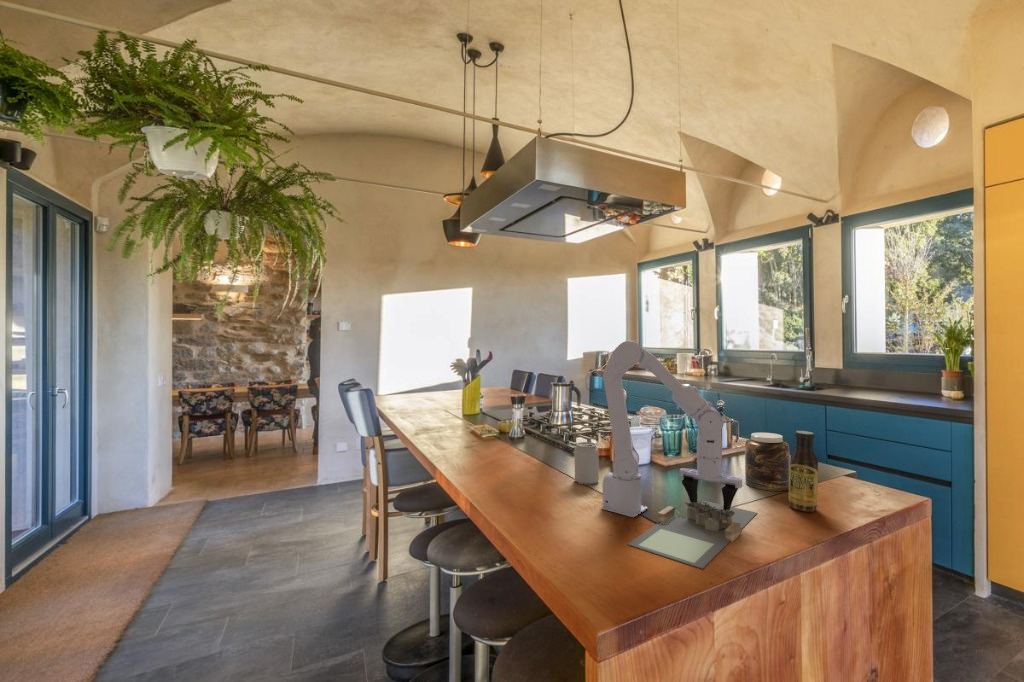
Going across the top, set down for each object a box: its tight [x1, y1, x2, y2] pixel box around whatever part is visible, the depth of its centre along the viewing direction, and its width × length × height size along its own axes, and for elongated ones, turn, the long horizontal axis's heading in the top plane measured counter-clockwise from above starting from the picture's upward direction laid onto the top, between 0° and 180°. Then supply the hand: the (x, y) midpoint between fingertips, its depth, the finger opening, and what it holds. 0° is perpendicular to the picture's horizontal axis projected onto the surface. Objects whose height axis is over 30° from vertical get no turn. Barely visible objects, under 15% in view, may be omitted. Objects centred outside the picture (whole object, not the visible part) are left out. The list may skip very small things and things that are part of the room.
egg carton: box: [684, 501, 735, 532], centre depth 109 cm, size 11×8×4 cm
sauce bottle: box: [788, 430, 819, 513], centre depth 118 cm, size 7×6×20 cm
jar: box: [744, 432, 791, 492], centre depth 137 cm, size 12×12×15 cm
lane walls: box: [657, 505, 742, 543], centre depth 107 cm, size 17×6×2 cm, turn 47°
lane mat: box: [627, 500, 758, 570], centre depth 107 cm, size 16×37×1 cm, turn 137°
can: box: [573, 441, 600, 486], centre depth 143 cm, size 8×8×12 cm
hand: (710, 510), depth 113 cm, fingers open, 7 cm apart
